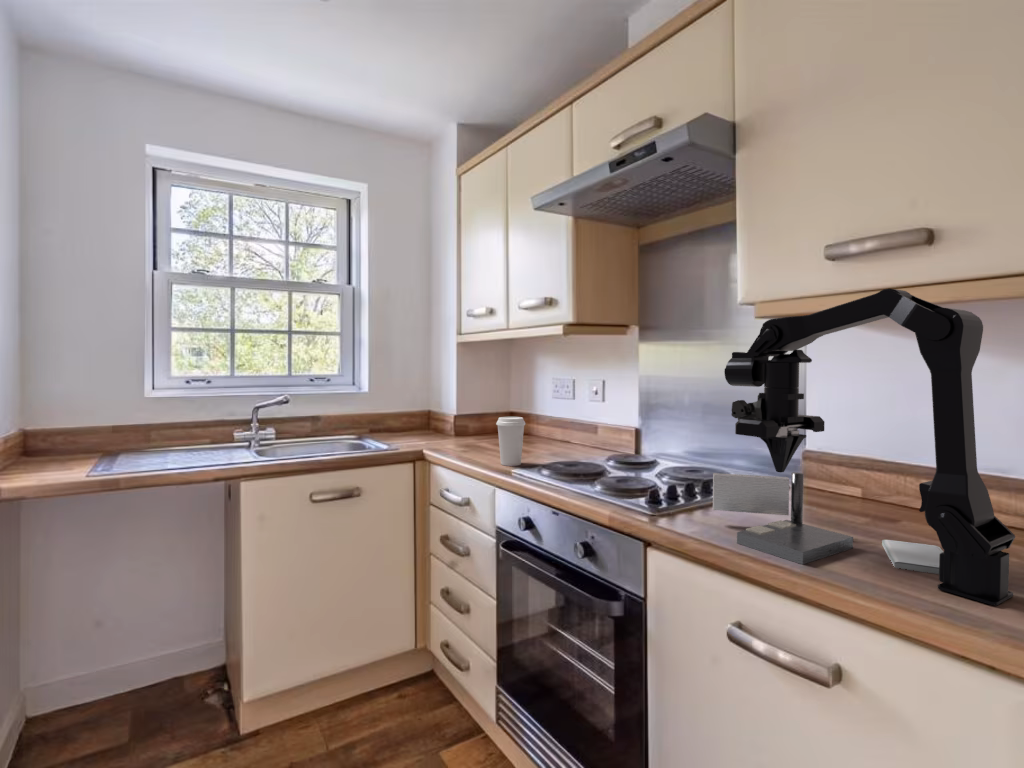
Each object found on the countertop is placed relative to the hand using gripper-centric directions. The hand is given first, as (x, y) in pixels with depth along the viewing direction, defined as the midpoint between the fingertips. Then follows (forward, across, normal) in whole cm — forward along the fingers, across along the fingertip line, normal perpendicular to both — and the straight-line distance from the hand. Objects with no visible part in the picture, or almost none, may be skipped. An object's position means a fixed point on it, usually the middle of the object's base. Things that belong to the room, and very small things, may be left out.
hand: (779, 472), depth 99 cm
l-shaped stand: (+12, +1, +5) cm, 13 cm away
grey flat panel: (+9, -1, -7) cm, 11 cm away
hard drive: (+13, -8, +19) cm, 24 cm away
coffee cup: (+12, +6, -89) cm, 90 cm away
